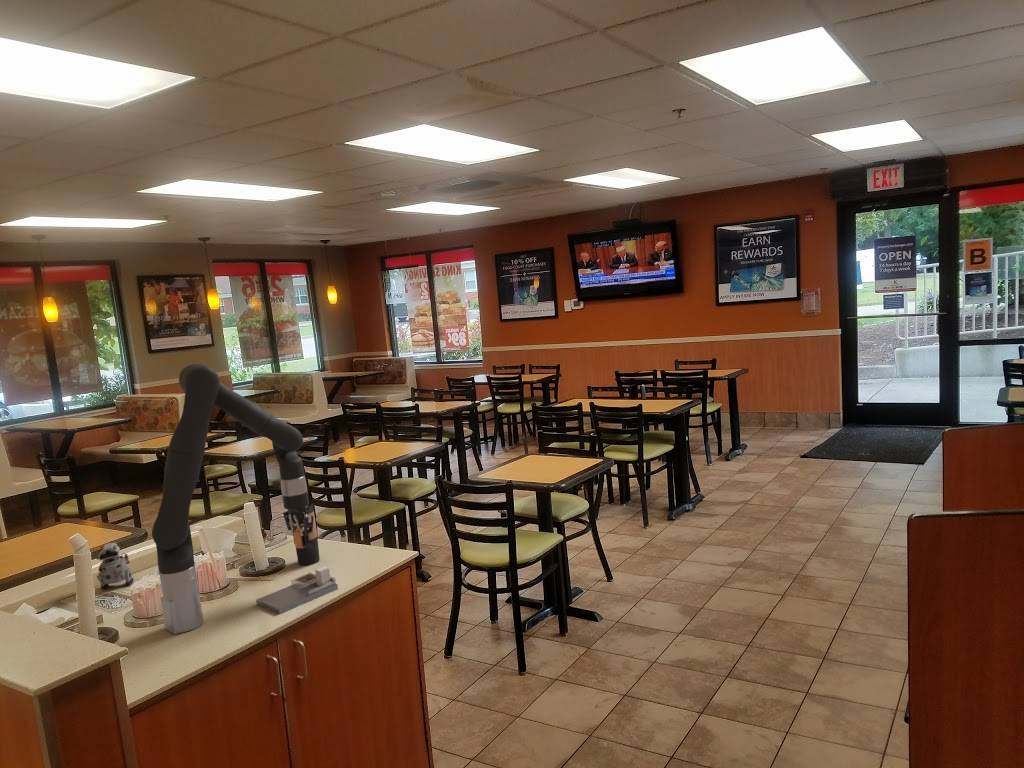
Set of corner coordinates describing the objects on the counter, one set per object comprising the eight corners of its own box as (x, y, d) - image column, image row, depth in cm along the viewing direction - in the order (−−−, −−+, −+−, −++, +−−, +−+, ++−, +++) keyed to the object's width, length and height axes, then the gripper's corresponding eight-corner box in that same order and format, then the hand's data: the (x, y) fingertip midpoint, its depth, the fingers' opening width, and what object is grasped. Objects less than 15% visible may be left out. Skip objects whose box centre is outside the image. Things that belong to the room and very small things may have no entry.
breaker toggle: (322, 587, 220) (320, 571, 219) (317, 585, 222) (315, 569, 221) (331, 583, 222) (328, 567, 221) (325, 581, 224) (323, 566, 223)
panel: (279, 614, 207) (278, 603, 206) (256, 604, 216) (255, 593, 215) (338, 588, 222) (336, 578, 221) (314, 580, 230) (312, 570, 230)
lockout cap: (300, 549, 220) (297, 530, 219) (293, 547, 223) (290, 529, 222) (311, 544, 223) (309, 526, 222) (304, 542, 226) (301, 525, 225)
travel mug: (323, 557, 252) (316, 501, 249) (315, 565, 244) (308, 508, 241) (302, 558, 252) (295, 503, 250) (294, 566, 245) (286, 509, 242)
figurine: (94, 597, 234) (86, 553, 232) (107, 584, 245) (100, 541, 243) (124, 592, 235) (116, 548, 233) (136, 579, 247) (128, 537, 245)
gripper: (318, 490, 219) (325, 545, 221) (292, 485, 228) (300, 537, 230) (296, 497, 213) (304, 553, 215) (271, 492, 223) (279, 545, 225)
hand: (302, 544), depth 223 cm, fingers closed on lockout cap, 4 cm apart
